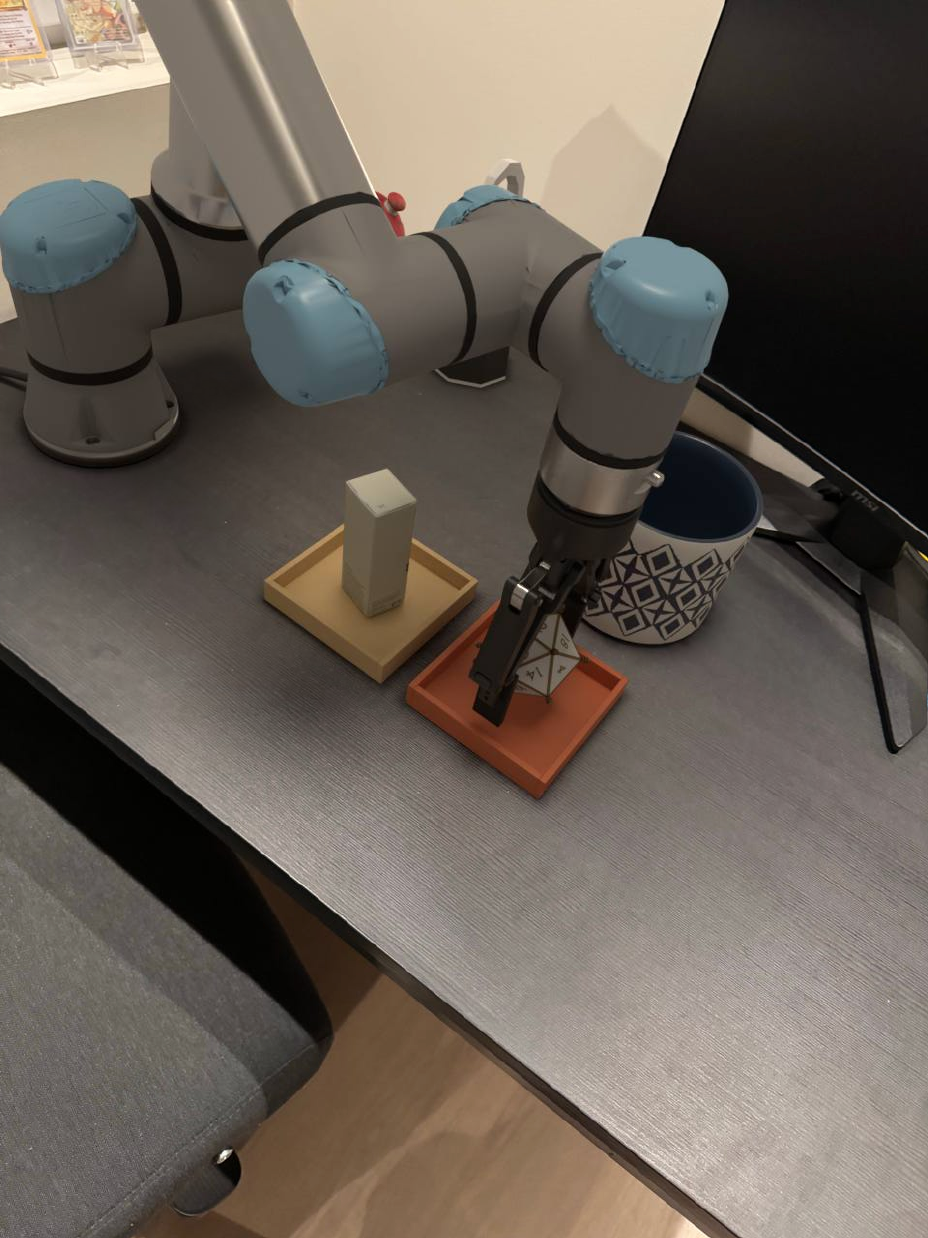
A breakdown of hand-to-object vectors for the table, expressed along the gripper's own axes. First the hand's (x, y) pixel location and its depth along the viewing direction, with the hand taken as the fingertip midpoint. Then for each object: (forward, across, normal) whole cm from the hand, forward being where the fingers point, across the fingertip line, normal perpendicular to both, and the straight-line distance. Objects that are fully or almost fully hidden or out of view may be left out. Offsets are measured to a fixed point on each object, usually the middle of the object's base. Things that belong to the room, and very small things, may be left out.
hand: (521, 678), depth 73 cm
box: (+3, 0, +17) cm, 17 cm away
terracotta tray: (+3, 0, 0) cm, 3 cm away
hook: (+3, +40, +35) cm, 53 cm away
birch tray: (+3, 0, +17) cm, 17 cm away
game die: (0, 0, 0) cm, 0 cm away
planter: (+3, +20, -1) cm, 20 cm away
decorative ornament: (+3, +42, +54) cm, 68 cm away
